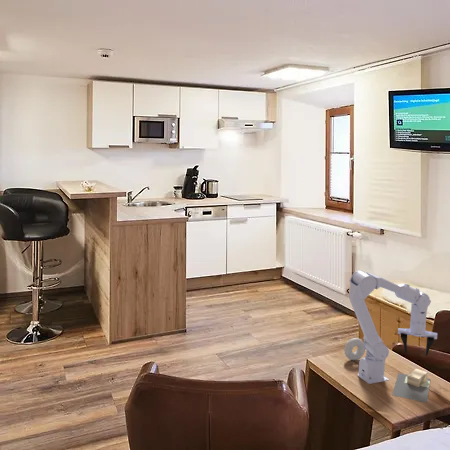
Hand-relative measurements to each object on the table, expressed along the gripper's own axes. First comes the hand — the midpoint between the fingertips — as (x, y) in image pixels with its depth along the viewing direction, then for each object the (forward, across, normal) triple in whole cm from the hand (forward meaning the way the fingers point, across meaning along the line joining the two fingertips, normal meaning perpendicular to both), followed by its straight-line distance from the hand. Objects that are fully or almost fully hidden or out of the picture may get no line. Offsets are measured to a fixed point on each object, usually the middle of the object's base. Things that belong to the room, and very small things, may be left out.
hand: (416, 353), depth 191 cm
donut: (+10, -24, +6) cm, 27 cm away
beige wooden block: (+9, +1, -7) cm, 11 cm away
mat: (+9, -1, -12) cm, 15 cm away
